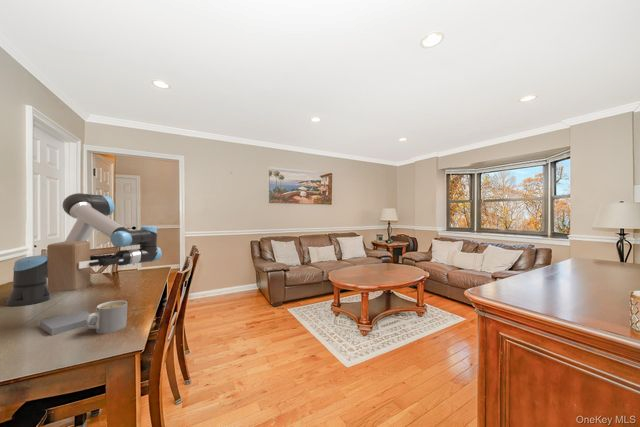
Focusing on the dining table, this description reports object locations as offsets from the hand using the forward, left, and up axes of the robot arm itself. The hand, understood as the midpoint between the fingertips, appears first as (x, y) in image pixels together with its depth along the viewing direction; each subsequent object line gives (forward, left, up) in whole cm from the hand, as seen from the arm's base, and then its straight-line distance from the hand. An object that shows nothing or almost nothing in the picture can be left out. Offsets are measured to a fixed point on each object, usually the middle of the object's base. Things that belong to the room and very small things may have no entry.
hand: (71, 263), depth 108 cm
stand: (+2, 0, -26) cm, 26 cm away
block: (0, 0, -11) cm, 11 cm away
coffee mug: (+20, +6, -26) cm, 33 cm away
